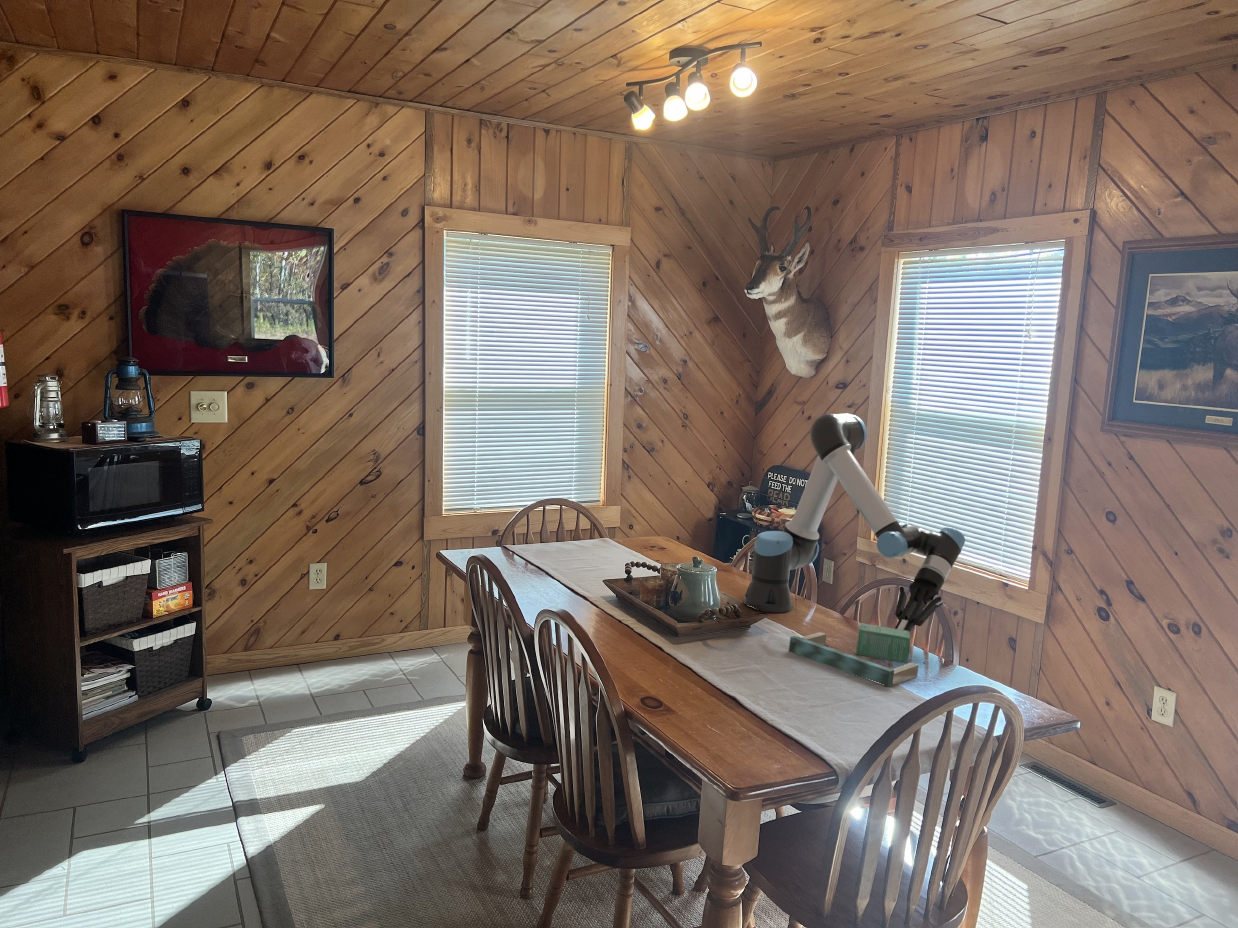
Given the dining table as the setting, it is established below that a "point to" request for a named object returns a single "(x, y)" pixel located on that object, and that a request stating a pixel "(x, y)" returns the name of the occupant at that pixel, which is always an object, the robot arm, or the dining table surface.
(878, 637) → the box
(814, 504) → the robot arm
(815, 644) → the bay
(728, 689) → the dining table surface
